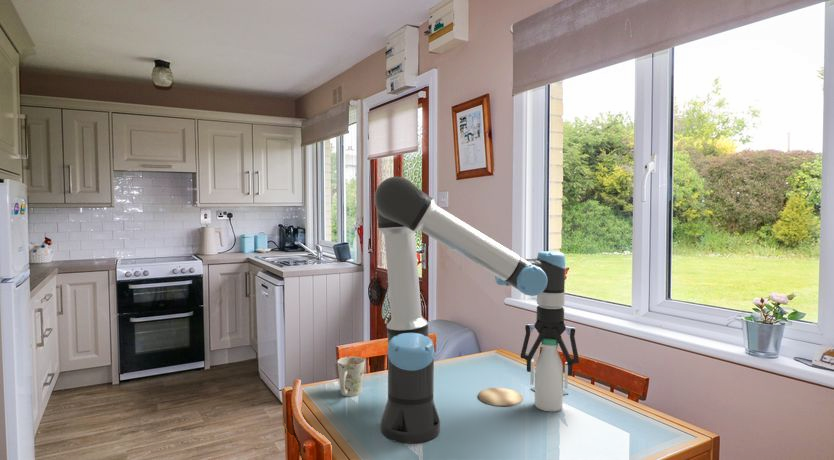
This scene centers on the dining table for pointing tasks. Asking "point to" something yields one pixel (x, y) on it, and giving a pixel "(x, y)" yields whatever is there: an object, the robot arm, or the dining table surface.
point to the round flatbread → (500, 397)
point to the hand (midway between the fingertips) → (548, 384)
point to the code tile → (563, 391)
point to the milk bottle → (549, 377)
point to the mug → (351, 375)
